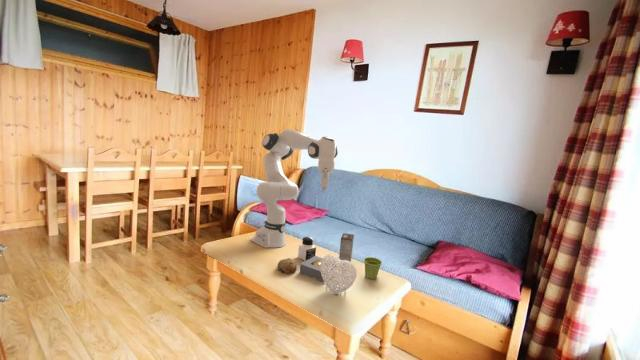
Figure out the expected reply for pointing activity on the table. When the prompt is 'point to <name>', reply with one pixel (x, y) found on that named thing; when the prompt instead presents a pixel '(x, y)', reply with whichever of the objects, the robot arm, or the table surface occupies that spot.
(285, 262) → the bread roll
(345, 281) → the decorative heart
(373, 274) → the plant pot
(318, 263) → the brass button
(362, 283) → the table surface
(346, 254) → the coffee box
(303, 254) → the medicine bottle
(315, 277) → the switch block
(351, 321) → the table surface
